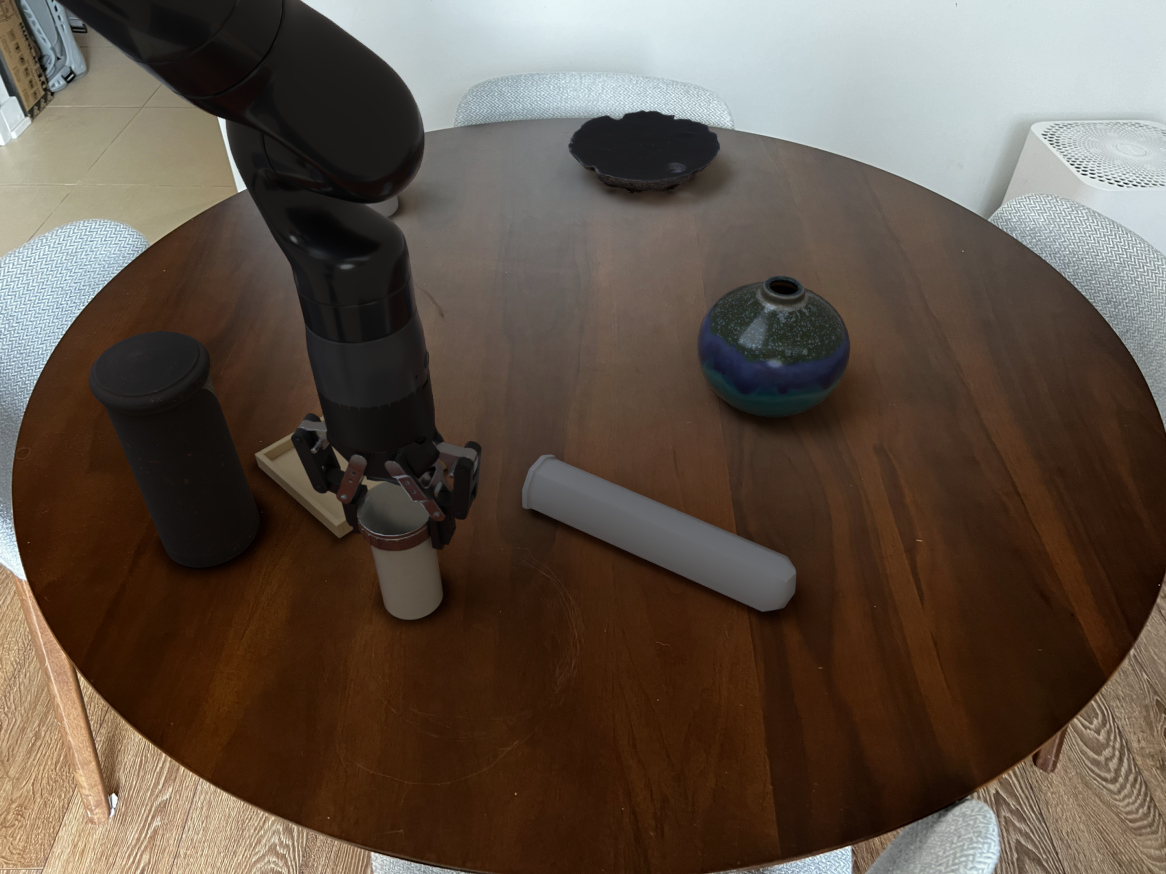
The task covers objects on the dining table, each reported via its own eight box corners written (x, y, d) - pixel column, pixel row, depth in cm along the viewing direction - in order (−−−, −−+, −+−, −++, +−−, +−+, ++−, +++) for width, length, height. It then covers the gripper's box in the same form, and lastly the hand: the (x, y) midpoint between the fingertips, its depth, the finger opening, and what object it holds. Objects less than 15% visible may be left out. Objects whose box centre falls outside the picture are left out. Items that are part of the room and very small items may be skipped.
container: (278, 500, 85) (223, 324, 71) (242, 576, 78) (174, 398, 64) (188, 493, 85) (116, 317, 72) (145, 568, 79) (57, 389, 65)
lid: (392, 565, 67) (388, 549, 66) (343, 523, 70) (339, 507, 69) (454, 521, 71) (452, 505, 69) (405, 483, 74) (403, 467, 72)
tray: (339, 538, 81) (336, 526, 80) (258, 466, 88) (254, 454, 87) (452, 464, 88) (450, 451, 87) (369, 403, 95) (367, 390, 94)
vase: (866, 394, 97) (896, 289, 88) (776, 462, 89) (799, 354, 80) (753, 331, 105) (770, 228, 96) (661, 388, 97) (671, 282, 88)
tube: (812, 551, 76) (555, 445, 84) (795, 580, 71) (526, 465, 80) (794, 603, 78) (546, 494, 87) (776, 634, 74) (517, 516, 82)
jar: (408, 630, 74) (391, 546, 67) (371, 596, 77) (350, 511, 70) (455, 595, 77) (443, 510, 70) (417, 563, 79) (402, 478, 72)
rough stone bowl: (725, 210, 126) (730, 176, 122) (568, 210, 125) (568, 175, 122) (707, 141, 142) (711, 109, 139) (567, 140, 142) (567, 108, 138)
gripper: (244, 385, 59) (297, 553, 70) (455, 420, 57) (474, 588, 68) (297, 319, 64) (338, 485, 76) (491, 349, 62) (504, 515, 73)
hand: (403, 533), depth 72 cm, fingers closed on lid, 6 cm apart
